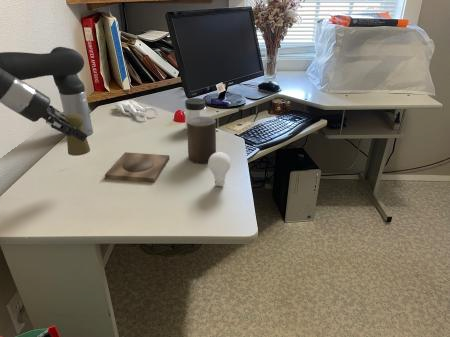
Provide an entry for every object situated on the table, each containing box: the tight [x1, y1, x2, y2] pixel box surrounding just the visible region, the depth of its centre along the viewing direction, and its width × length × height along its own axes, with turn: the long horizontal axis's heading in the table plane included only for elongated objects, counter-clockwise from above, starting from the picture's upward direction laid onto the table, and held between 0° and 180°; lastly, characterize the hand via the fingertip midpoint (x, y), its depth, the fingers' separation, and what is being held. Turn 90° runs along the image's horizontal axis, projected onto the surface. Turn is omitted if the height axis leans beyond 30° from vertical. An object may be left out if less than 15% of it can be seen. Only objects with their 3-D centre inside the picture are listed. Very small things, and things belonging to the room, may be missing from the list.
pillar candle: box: [186, 116, 217, 165], centre depth 117 cm, size 10×10×15 cm
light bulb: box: [207, 151, 232, 187], centre depth 101 cm, size 7×7×11 cm
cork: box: [64, 113, 91, 157], centre depth 96 cm, size 6×6×11 cm
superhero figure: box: [114, 99, 159, 122], centre depth 159 cm, size 12×6×25 cm
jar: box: [184, 97, 207, 130], centre depth 141 cm, size 9×8×12 cm
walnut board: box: [104, 151, 170, 183], centre depth 113 cm, size 16×16×2 cm
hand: (83, 135), depth 97 cm, fingers closed on cork, 4 cm apart
